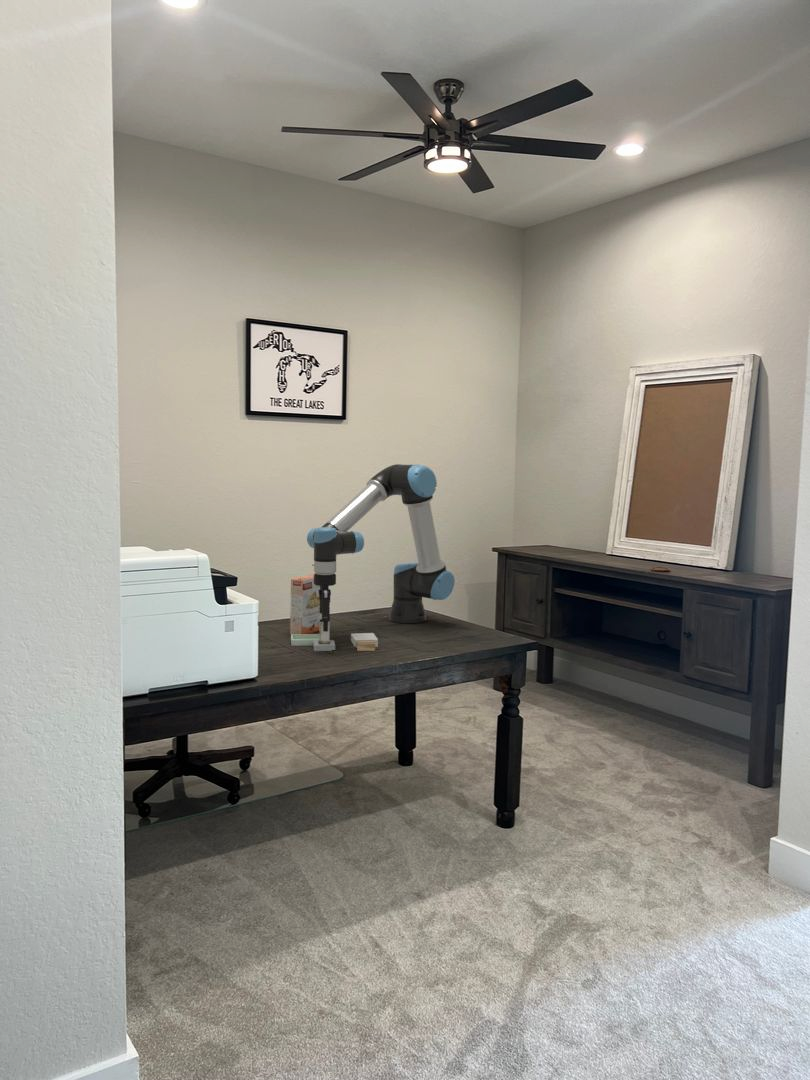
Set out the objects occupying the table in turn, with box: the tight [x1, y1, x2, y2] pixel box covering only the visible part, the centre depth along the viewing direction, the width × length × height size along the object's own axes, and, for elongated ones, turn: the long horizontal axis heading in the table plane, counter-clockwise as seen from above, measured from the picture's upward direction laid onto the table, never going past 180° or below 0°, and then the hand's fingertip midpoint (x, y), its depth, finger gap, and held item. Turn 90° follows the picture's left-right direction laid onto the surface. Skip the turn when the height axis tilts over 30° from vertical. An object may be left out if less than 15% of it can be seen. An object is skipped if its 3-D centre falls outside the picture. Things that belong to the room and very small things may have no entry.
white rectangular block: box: [350, 632, 379, 648], centre depth 275 cm, size 10×8×3 cm
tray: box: [290, 633, 320, 647], centre depth 274 cm, size 9×12×2 cm
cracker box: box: [289, 574, 321, 635], centre depth 289 cm, size 14×6×21 cm, turn 152°
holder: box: [312, 639, 336, 652], centre depth 267 cm, size 7×7×2 cm
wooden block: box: [355, 641, 376, 652], centre depth 267 cm, size 4×6×2 cm, turn 99°
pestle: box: [319, 622, 329, 644], centre depth 267 cm, size 3×3×9 cm
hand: (324, 636), depth 267 cm, fingers open, 11 cm apart
